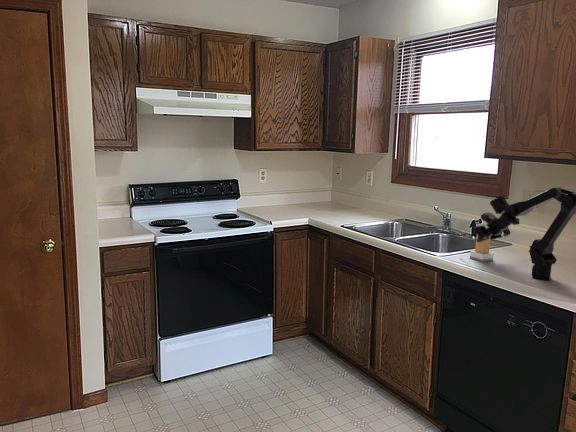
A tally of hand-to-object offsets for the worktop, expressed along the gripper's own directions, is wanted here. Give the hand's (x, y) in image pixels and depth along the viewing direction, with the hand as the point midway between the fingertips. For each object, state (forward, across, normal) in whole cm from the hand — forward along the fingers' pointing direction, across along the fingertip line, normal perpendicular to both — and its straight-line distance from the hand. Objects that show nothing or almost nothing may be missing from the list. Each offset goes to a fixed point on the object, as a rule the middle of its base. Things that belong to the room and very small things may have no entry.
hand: (480, 241), depth 227 cm
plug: (+4, 0, +6) cm, 7 cm away
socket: (+5, 0, +7) cm, 9 cm away
